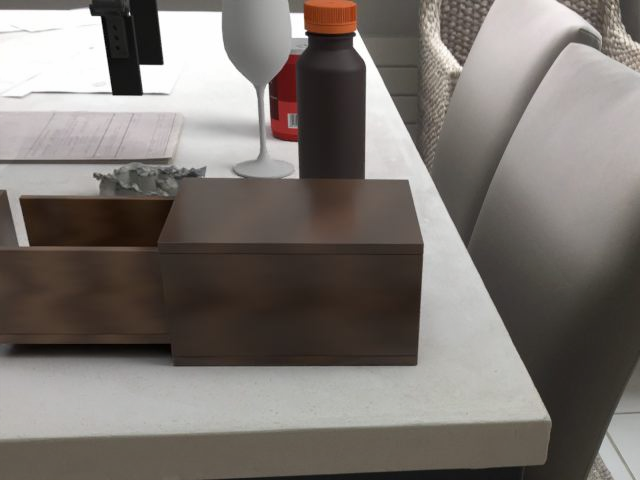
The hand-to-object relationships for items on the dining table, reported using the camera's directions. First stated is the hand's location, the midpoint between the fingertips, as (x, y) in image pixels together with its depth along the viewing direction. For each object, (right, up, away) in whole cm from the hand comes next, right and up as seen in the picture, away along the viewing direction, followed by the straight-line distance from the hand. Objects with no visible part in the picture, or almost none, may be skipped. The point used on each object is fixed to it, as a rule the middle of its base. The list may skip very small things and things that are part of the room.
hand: (139, 79), depth 88 cm
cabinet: (+17, -27, -15) cm, 35 cm away
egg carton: (0, -10, +8) cm, 13 cm away
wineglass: (+10, -2, +19) cm, 21 cm away
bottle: (+19, -12, +6) cm, 23 cm away
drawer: (-2, -27, -16) cm, 31 cm away
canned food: (+13, +8, +32) cm, 35 cm away
